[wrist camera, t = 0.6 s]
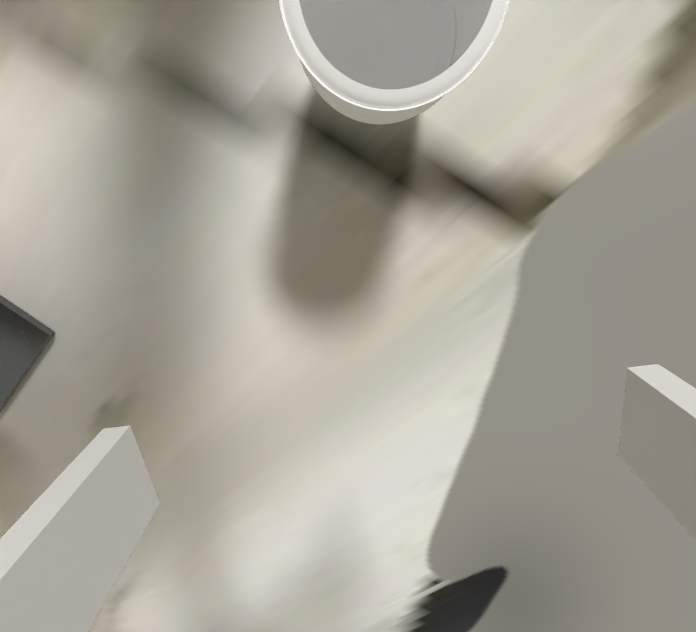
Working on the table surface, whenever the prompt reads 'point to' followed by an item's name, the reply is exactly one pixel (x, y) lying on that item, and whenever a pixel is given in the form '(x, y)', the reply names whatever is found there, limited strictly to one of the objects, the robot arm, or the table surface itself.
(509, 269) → the table surface
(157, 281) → the table surface
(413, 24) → the jar
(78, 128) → the table surface
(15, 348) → the fulcrum
